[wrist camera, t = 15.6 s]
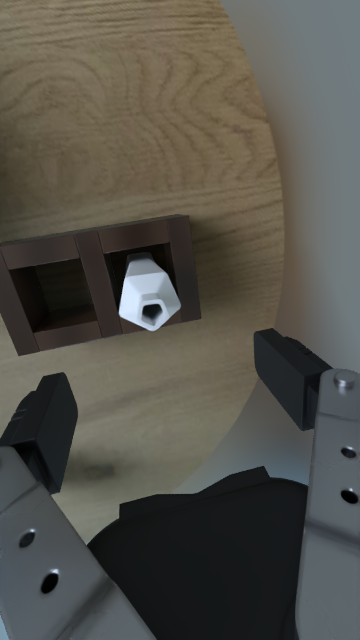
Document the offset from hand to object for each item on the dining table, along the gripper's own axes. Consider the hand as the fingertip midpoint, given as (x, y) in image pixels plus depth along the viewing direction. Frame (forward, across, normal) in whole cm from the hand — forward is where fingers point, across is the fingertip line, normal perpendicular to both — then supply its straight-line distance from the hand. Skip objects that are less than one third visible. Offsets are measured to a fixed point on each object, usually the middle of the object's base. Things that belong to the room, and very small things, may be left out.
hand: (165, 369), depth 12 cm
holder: (+22, +4, 0) cm, 22 cm away
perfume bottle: (+22, 0, 0) cm, 22 cm away
